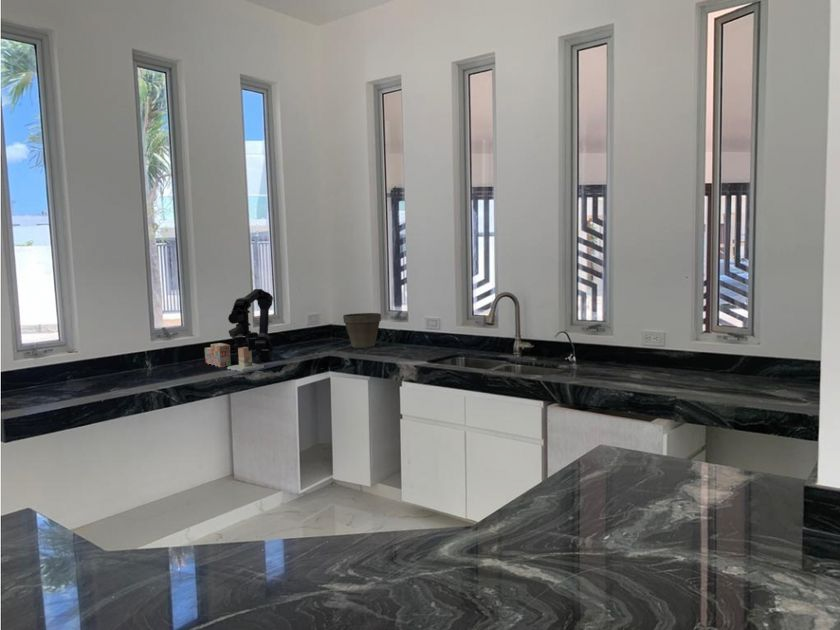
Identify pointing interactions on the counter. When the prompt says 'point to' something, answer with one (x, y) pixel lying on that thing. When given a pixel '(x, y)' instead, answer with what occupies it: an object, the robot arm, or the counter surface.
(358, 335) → the plant pot
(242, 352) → the brownish pink cube
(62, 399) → the counter surface
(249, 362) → the beech brick
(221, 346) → the stack of blocks
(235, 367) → the baseplate
